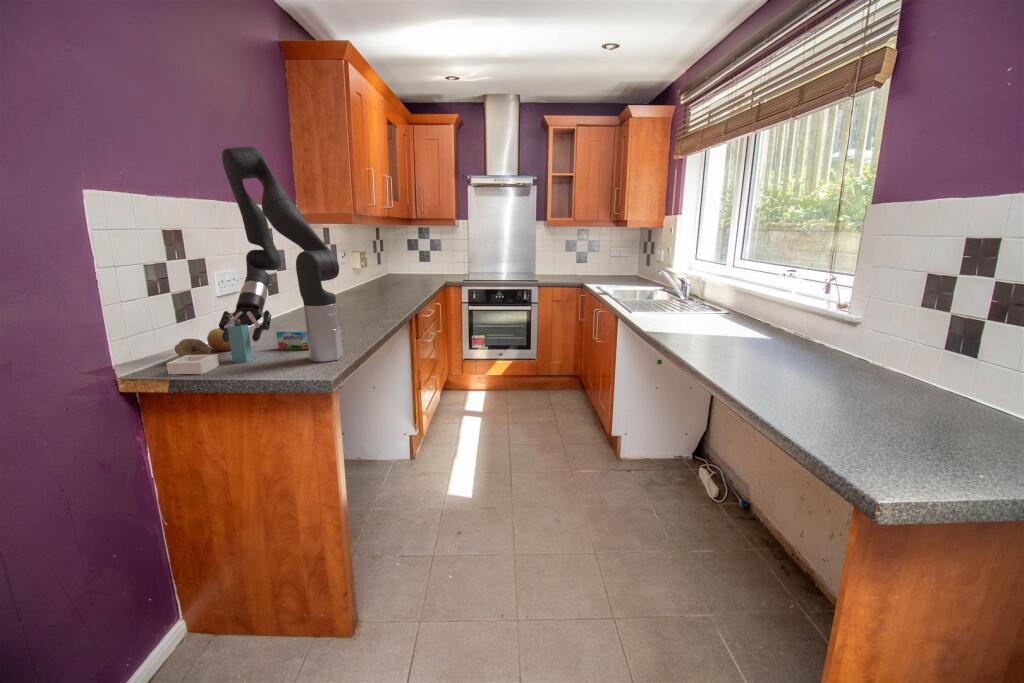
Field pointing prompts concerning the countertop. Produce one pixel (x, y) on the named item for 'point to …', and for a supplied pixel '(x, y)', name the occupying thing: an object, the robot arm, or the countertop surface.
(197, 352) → the fossil
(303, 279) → the robot arm
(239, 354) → the teal block with knob
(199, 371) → the socket
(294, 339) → the blue printed box
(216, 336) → the apple
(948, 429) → the countertop surface
